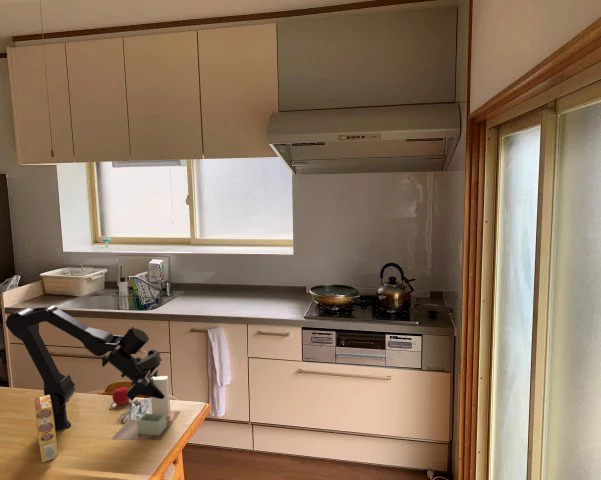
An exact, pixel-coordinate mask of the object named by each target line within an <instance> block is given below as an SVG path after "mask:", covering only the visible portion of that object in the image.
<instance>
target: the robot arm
mask: <svg viewBox="0 0 601 480" xmlns="http://www.w3.org/2000/svg"><path fill="white" fill-rule="evenodd" d="M45 322H46V323H48V324H50V325H52V326H54V327H56V328H57V329H59V330H60V331H62V332H64V333H66V334H68V335H70V336H71V337H73V338H75V339H76V340H78V341H80V342H81V343H82V345H83V346H84V348H85V349H86V350H88V352H90V353H91V354H92V355H94V356H96V357H101V360H102V361H101V367H102V368H103V367H105V366H106V365H107V364H108V363H109V364H110V365H112V366H113V368H115V369H116V370H117V371H119V373H121V374H120V377H121V378H124V377H126V378H127V379H128V380H130V382H131V384H130V385H131V386H130V387H129V388H128V389H129V390H128V392H127V398H128V399H129V401H131V402H133V400H134V399H136V398H137V396H145V397H150V398H151V397H155V398H159V399H163V398H164V397H165V396H164V395H163V394H162V392H161V391H160V390H159V389H158V388H157V387H156V386H155V385H154V384H153V378H152V377H157V376H159V369H157V370H156V368H159V366H160V364H161V362H162V360H163V359H162V358H161V352H159V351H158V350H156V349H154V348H152V349H149V350H148V352H147V355H146V356H145V357H144V358H143V357H142V358H141V357H140V356H136V357H134V356H133V355H136V354H138V353H139V351H141V349H142V348H143V347H145V345H146V344H147V343H148V342H149V340H150V338H149V336H148V335H147V333H146V332H145V331H144V330H141V329H139V328H135V327H134V326H131V327H130V328H129V329H128V330H127V332H126V333H125V334H124V335H119V334H118V335H116V334H112V333H111V332H108V331H105V330H103V329H101V328H93V327H91V326H89V325H87V324H85V323H83V322H81V321H80V320H78V319H77V318H75V317H73V316H71V315H70V314H68V313H66V312H64V311H63V310H60V309H59V308H58V307H57V306H56V305H47V306H41V307H36V308H29V307H24V308H23V307H22V308H20V309H17V310H16V311H15V312H12V313H10V314H9V315H8V316H7V318H6V320H5V326H6V328H7V329H8V331H9V332H11V334H12V336H13V337H15V338H17V339H18V340H20V341H21V342H22V343H23V345H24V348H25V349H26V351H27V353H28V355H29V357H30V359H31V360H32V363H33V364H34V365H35V368H36V370H37V371H38V373H39V375H40V378H41V379H42V382H43V395H44V396H47V395H50V398H51V403H52V409H53V416H54V424H55V433H56V432H59V431H61V430H63V429H64V430H65V429H66V428H69V427H71V426H72V423H71V421H69V419H68V415H67V405H66V404H67V403H69V402H70V399H71V397H73V395H74V394H75V390H76V388H75V385H76V384H75V383H74V382H73V380H72V378H71V375H70V374H67V375H66V376H65V375H63V374H62V373H61V372H60V371H59V369H58V367H57V365H56V363H55V361H54V359H53V357H52V355H51V353H50V352H49V349H48V348H47V345H46V343H45V341H44V340H43V338H42V336H41V334H40V323H45ZM118 346H119V348H118V349H117V347H118ZM108 352H109V353H108ZM107 353H108V354H107ZM151 378H152V379H151ZM150 379H151V380H150Z"/></svg>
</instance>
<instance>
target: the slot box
mask: <svg viewBox="0 0 601 480" xmlns="http://www.w3.org/2000/svg"><path fill="white" fill-rule="evenodd" d="M166 427H167V422H166V415H164V414H148V413H145V414H144V415H143V416H142V417H141V418H140V419H139V420H138V421H137V428H138V434H150V435H160V434H161V433H162V432H163V431H164V430H165V429H166Z"/></svg>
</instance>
